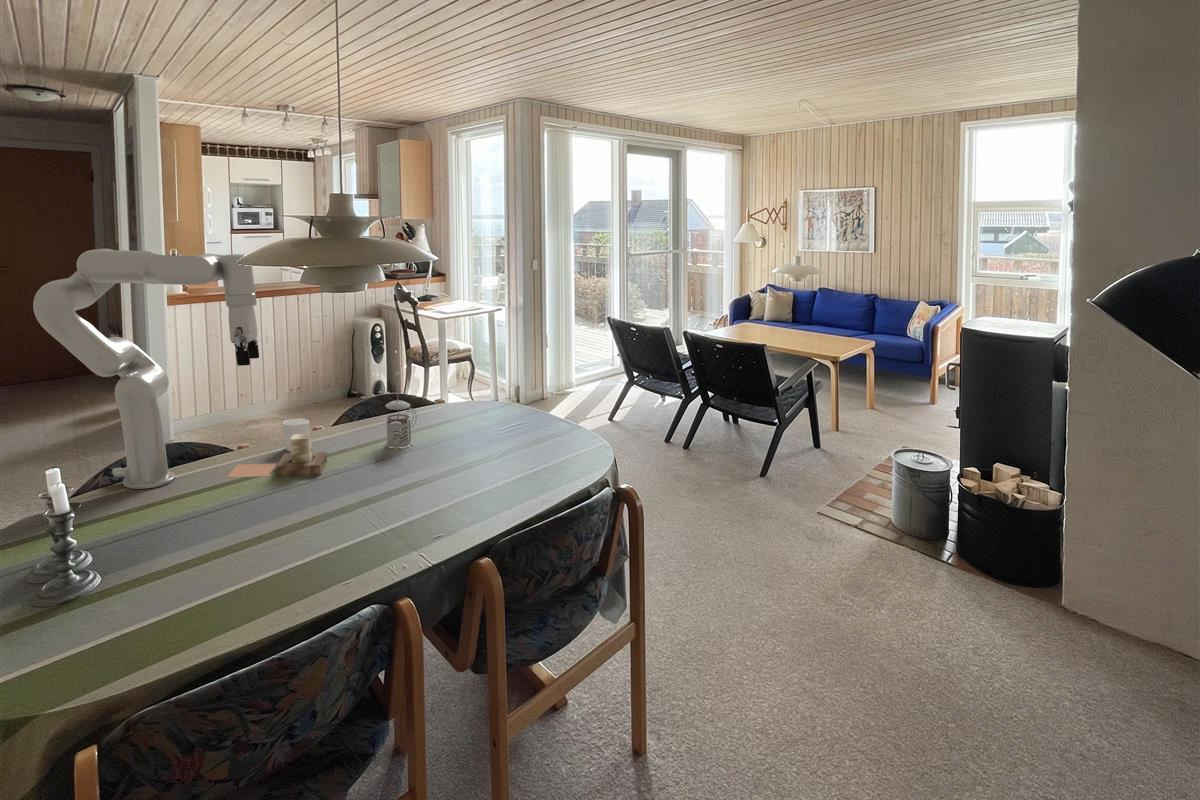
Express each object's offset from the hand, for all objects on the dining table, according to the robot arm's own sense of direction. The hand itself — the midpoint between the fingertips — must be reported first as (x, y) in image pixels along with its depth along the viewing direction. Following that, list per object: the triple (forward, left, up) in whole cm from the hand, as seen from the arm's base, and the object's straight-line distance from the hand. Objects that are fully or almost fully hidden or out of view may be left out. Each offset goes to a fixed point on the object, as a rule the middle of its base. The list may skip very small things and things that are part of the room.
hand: (248, 361), depth 202 cm
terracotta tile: (-2, +3, -34) cm, 34 cm away
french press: (+39, +28, -34) cm, 59 cm away
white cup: (+7, +23, -34) cm, 42 cm away
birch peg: (+12, +3, -33) cm, 35 cm away
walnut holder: (+12, +3, -34) cm, 36 cm away
